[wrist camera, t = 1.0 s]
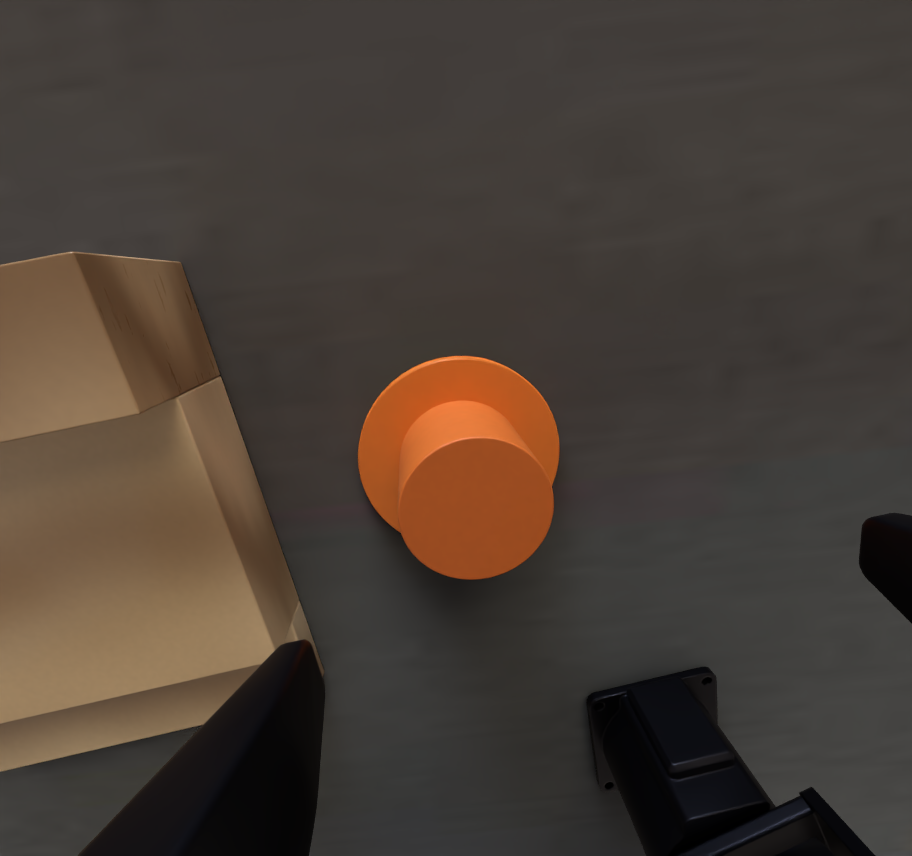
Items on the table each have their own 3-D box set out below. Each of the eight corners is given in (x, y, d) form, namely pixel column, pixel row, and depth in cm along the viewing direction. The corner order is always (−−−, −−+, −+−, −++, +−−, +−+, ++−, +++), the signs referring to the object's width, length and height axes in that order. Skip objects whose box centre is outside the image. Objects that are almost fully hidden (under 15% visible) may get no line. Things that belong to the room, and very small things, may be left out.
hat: (566, 519, 20) (615, 592, 16) (385, 559, 20) (378, 646, 15) (542, 336, 18) (591, 355, 13) (336, 379, 18) (309, 415, 13)
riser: (324, 671, 22) (298, 795, 16) (15, 742, 21) (-115, 894, 16) (181, 261, 16) (71, 250, 11) (-243, 344, 16) (-575, 374, 10)
